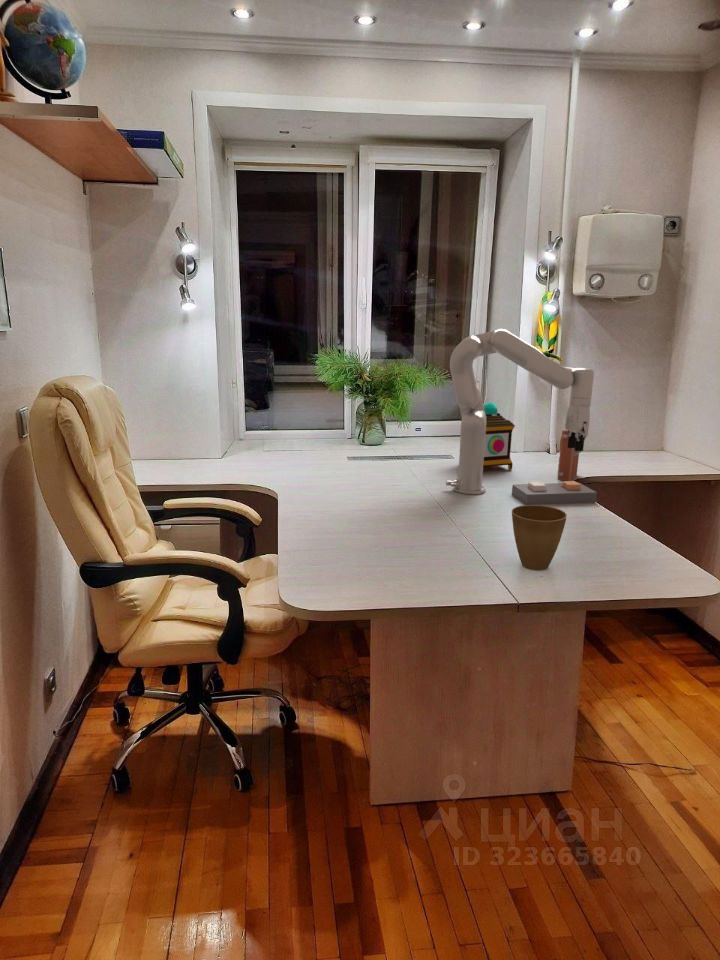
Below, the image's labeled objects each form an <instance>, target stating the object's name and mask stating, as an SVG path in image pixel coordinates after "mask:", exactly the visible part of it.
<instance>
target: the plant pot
mask: <svg viewBox="0 0 720 960" xmlns="http://www.w3.org/2000/svg"><path fill="white" fill-rule="evenodd" d="M567 516H568V514H567V513H566V511H564V510H562V509H560V508H555V507H552V506H546V505H541V504H537V505H526V504H525V505H519V506H516V507H514V508H512V509H511V519H512V530H513V536H514V541H515V545H516V550H517V553H518V556H519V560H520V563H521V566H522V567H523V568H525V569H528V570H532V571H544V570H547V569H548V568H549V566H550V565H551V562H552V561H553V559H554V557H555V554H556V552H557V550H558V548H559V544H560V543H561V538H562V535H563V533H564V528H565V525H566V521H567Z"/></svg>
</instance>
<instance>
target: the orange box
mask: <svg viewBox="0 0 720 960" xmlns="http://www.w3.org/2000/svg"><path fill="white" fill-rule="evenodd" d="M580 432H581V431H580ZM581 435H582V434H579V436H581ZM568 438H570V437H568V430H567V429H566V428H565V427H564V429H562V430H561V436H560V441H559V458H558V465H557V466H558V468H557V476H556V478H557V480H560V481H561V480H562V481H572V479H574V478H575V477H576V476H577V475H578V467H579V465H578V464H579V457H580V453H581V452H582V451H575V448H568ZM575 438H577V435H576V437H575Z"/></svg>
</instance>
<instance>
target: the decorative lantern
mask: <svg viewBox="0 0 720 960" xmlns="http://www.w3.org/2000/svg"><path fill="white" fill-rule="evenodd" d="M483 405H484V410H485V414H486V434H485V447H484V461H483V468H488V467H498V466H499V467H500V466H501V467H502V466H507V469H508V471H512V470H513V462H512V459H511V447H512V437H513V436H512V435H513V430H514V428H515V427H516V425H515V424H514V423H513V422H512V421H511V420H509V419H507V418H505V417H503V416H502V415H501V413H499V412H498V407H497V406H496V405H495V403H493V402H490V401H489V402H486V403H485V404H483Z"/></svg>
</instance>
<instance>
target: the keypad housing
mask: <svg viewBox="0 0 720 960" xmlns="http://www.w3.org/2000/svg"><path fill="white" fill-rule="evenodd" d="M578 483H579V484H581V487H580V490H566V489H565V488H563V487H562V482H559V483H557V482H556V483H555V482H554V483H544V484H545V485H546V491H532V490H530V489H529V488H528V483H519V484H518V483H517V484H515V483H513V484H512V485H511V495H512V496H513V497H515V499H517V500H519V501H520V502H521V503H522V504H525V505H557V504H558V505H559V504H561V505H562V504H563V505H564V504H590V503H592V502H594V503H597V495H598V491H595V490H593V489H591V488H590V487H587V486H586V485H585V484H582V483H580V482H578Z"/></svg>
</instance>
